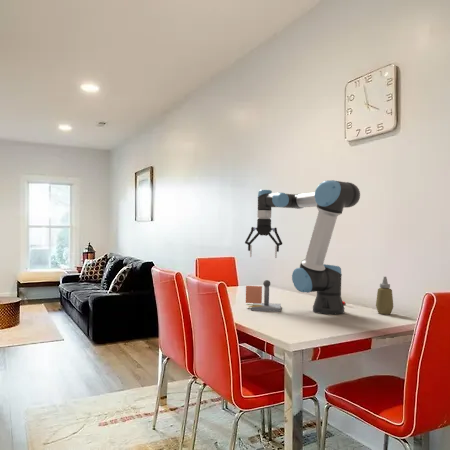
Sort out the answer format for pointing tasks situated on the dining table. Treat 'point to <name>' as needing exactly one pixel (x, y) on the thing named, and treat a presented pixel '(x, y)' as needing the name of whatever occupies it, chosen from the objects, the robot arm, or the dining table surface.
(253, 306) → the grey flat block
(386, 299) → the squeeze bottle
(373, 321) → the dining table surface
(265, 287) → the lever
